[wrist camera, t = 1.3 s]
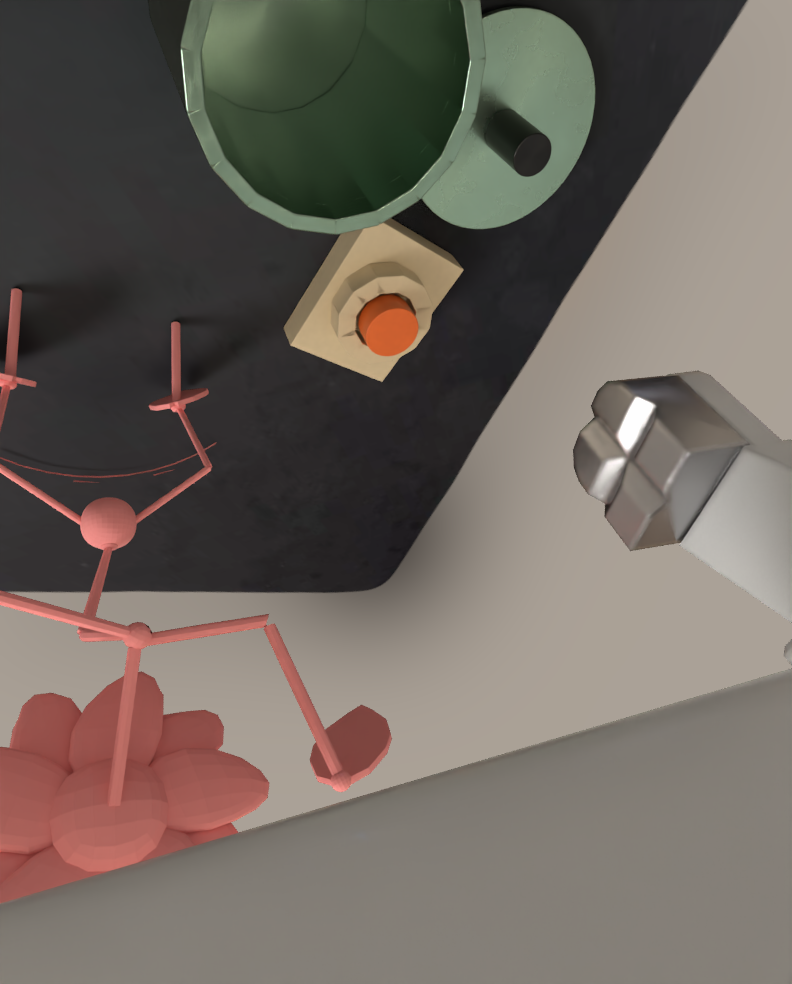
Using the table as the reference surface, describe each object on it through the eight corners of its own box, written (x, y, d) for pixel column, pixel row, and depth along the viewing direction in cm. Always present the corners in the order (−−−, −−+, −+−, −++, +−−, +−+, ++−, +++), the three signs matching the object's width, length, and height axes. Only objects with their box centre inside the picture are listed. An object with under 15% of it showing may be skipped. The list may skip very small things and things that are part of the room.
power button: (378, 285, 43) (386, 299, 42) (420, 306, 46) (429, 321, 44) (347, 330, 45) (355, 345, 44) (389, 349, 47) (398, 363, 46)
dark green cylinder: (209, -240, 28) (283, -232, 19) (419, -42, 35) (543, 28, 26) (105, 39, 33) (126, 144, 24) (306, 161, 40) (378, 276, 31)
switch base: (361, 200, 43) (381, 229, 40) (451, 254, 48) (474, 283, 45) (283, 327, 47) (296, 361, 45) (373, 365, 52) (389, 397, 50)
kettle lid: (490, -53, 36) (535, -32, 32) (623, 85, 43) (670, 113, 40) (361, 164, 41) (388, 200, 38) (498, 252, 49) (531, 288, 46)
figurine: (-172, 233, 35) (-562, 1115, 12) (298, 335, 48) (515, 846, 26) (-160, 457, 43) (-376, 1214, 21) (236, 491, 57) (358, 974, 35)
